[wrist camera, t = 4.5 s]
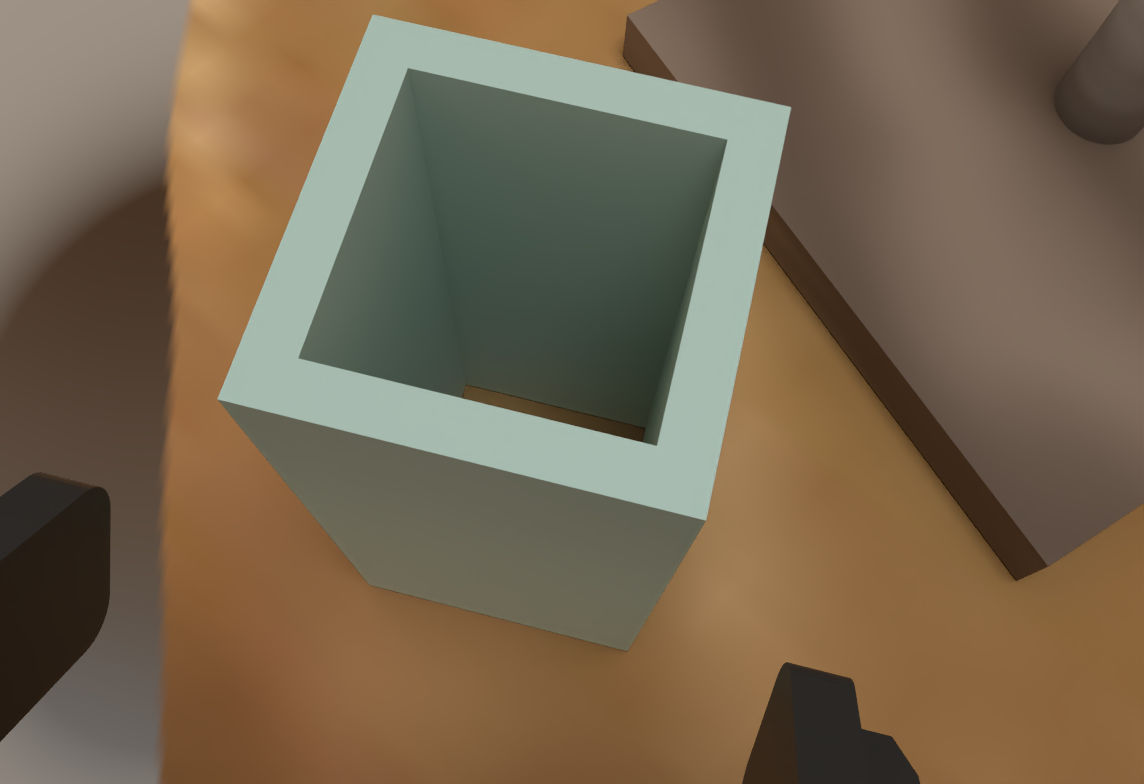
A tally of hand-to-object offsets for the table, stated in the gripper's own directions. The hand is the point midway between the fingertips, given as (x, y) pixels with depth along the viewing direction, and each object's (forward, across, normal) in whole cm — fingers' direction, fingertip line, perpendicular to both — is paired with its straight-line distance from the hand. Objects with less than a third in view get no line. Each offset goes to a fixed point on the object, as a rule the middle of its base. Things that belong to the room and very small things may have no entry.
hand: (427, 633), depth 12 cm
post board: (+19, -11, -5) cm, 22 cm away
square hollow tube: (+10, 0, +4) cm, 11 cm away
